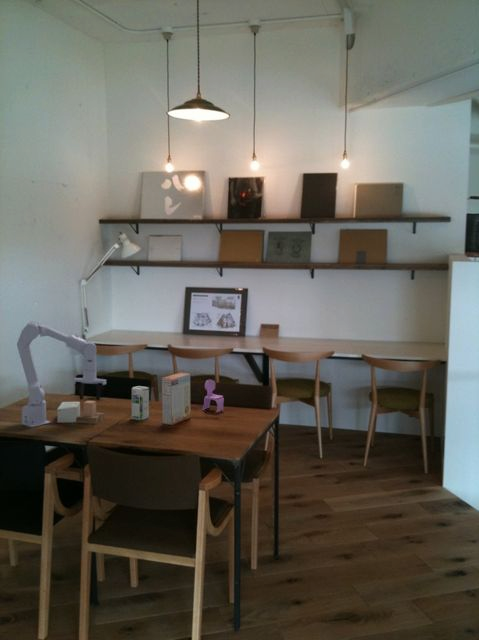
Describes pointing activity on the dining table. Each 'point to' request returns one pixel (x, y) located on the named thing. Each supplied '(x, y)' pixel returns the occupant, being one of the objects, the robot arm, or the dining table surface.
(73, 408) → the small box
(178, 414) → the cracker box
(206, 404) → the toy chair
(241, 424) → the dining table surface
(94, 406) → the terracotta block
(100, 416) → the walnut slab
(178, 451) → the dining table surface
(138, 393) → the syrup box
